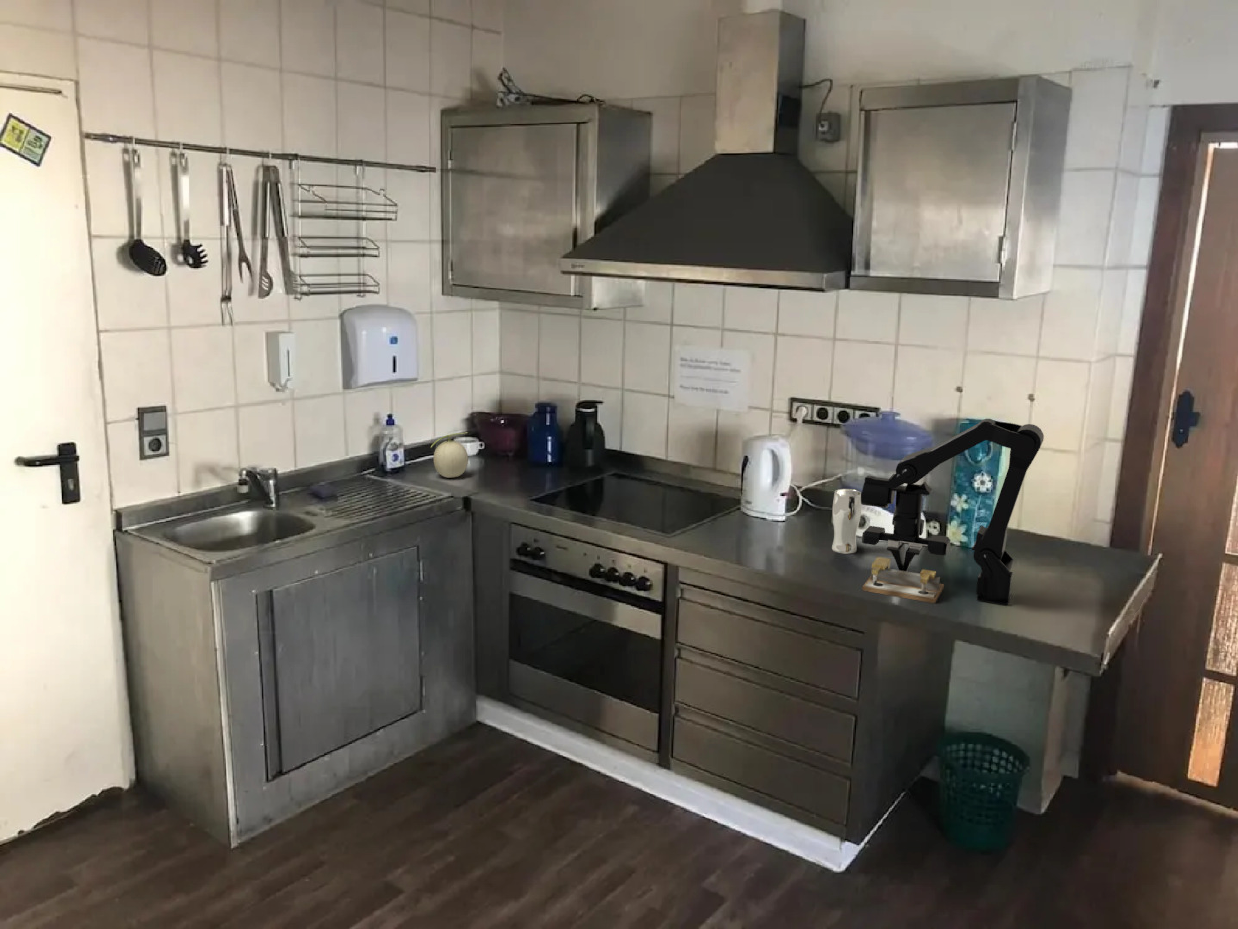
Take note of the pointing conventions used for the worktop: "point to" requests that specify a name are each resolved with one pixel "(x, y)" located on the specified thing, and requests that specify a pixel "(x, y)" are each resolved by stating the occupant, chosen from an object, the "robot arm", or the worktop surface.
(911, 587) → the board
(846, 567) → the worktop surface
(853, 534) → the beer glass
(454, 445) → the fruit
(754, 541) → the worktop surface
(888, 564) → the slider
